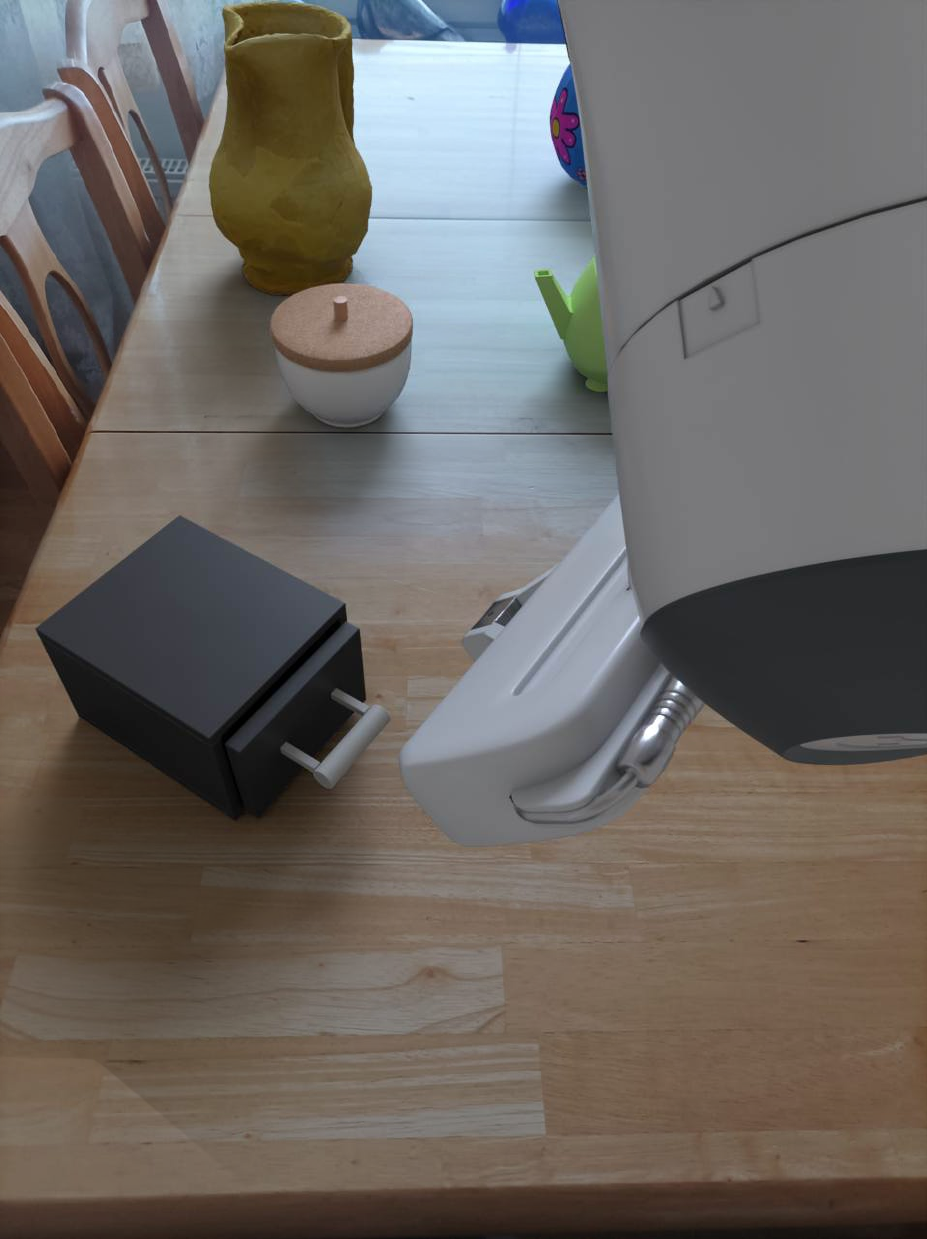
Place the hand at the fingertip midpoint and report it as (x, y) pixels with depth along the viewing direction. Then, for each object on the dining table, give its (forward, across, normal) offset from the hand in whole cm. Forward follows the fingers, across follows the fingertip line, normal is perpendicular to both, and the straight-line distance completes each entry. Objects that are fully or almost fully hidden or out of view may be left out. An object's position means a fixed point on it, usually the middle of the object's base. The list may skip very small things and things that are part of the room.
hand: (488, 633), depth 38 cm
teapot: (+30, +56, -5) cm, 64 cm away
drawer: (+30, +2, -4) cm, 30 cm away
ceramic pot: (+44, +92, +10) cm, 103 cm away
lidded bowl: (+44, +35, +9) cm, 57 cm away
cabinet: (+34, +2, -2) cm, 34 cm away
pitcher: (+58, +53, +23) cm, 82 cm away
